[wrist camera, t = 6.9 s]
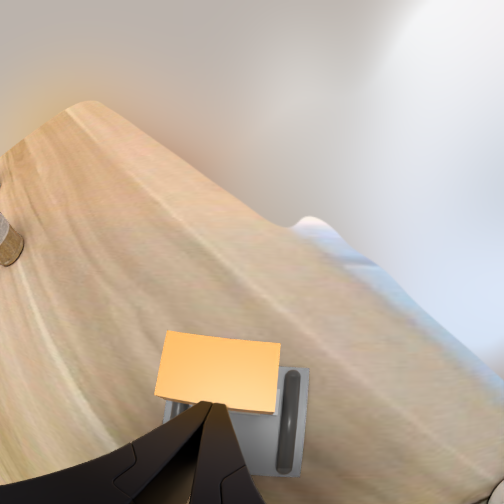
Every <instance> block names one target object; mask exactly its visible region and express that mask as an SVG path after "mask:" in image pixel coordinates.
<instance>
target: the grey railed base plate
mask: <svg viewBox="0 0 504 504" xmlns="http://www.w3.org/2000/svg"><path fill="white" fill-rule="evenodd" d="M308 384H309V368H296V367H280V366H279V370H278V381H277V393H276V404H275V412H274V413H273V414H272V415H270V414H260V415H249V414H240V413H231V412H228V413H229V416H230V419H231V422H232V425H233V428H234V431H235V434H236V437H237V440H238V442H239V445H240V448H241V451H242V454H243V457H244V459H245V462H246V465H247V467H248V469H249V472H250V475H261V476H277V477H300V473H301V464H302V455H303V445H304V435H305V424H306V412H307V398H308ZM192 406H193V405H190V404H184V403H179V402H174V401H169V400H166V405H165V412H164V418H163V424H164V423H166V422H168V421H169V420H171V419H172V418H174V417H176V416H177V415H179V414H181V413H182V412H184V411H185V410H187V409H189V408H190V407H192Z"/></svg>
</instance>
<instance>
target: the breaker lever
mask: <svg viewBox="0 0 504 504" xmlns="http://www.w3.org/2000/svg"><path fill="white" fill-rule="evenodd" d="M280 344H281V343H270V342H258V341H247V340H237V339H228V338H219V337H211V336H203V335H195V334H188V333H181V332H174V331H168V330H167V333H166V338H165V343H164V347H163V352H162V357H161V362H160V367H159V372H158V377H157V382H156V388H155V393H154V395H156V396H158V397H161V398H163V399H165V400H169V401H174V402H179V403H184V404H190V405H195V404H197V403H198V402H200V401H208V402H212V403H222V404H225V405H226V407H227V410H228V412H231V413H240V414H249V415H260V414H270V415H272V414H273V413H274V412H275V404H276V393H277V381H278V370H279V357H280Z"/></svg>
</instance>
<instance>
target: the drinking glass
mask: <svg viewBox="0 0 504 504" xmlns="http://www.w3.org/2000/svg"><path fill="white" fill-rule="evenodd" d="M488 504H504V480H503V481H502V482H501V483H500V484H499V485H498V486H497V487H496V489H495V490H494V492H493V493H492V495H491V497H490V499H489V502H488Z"/></svg>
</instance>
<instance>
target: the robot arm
mask: <svg viewBox="0 0 504 504" xmlns="http://www.w3.org/2000/svg"><path fill="white" fill-rule="evenodd" d="M190 494H191V496H190ZM189 496H190V502H189V504H266V503H265V501H264V500H263V498H262V496H261V495H260V493H259V491H258V489H257V488H256V486H255V484H254V481H253V479H252V477H251V475H250V472H249V469H248V467H247V465H246V462H245V459H244V457H243V454H242V451H241V448H240V445H239V442H238V440H237V437H236V434H235V431H234V428H233V425H232V422H231V419H230V416H229V413H228V410H227V407H226V405H225V404H222V403H212V402H208V401H200V402H198V403H197V404H195V405H193V406H192V407H190V408H189V409H187V410H185V411H184V412H182V413H181V414H179V415H177V416H176V417H174V418H172V419H171V420H169V421H168V422H166V423H164V424H163V425H161V426H159V427H157V428H156V429H154V430H152V431H151V432H149V433H147V434H145V435H144V436H142V437H140V438H138V439H136V440H135V441H133V442H132V443H128V444H127V445H125V446H123V447H121V448H119V449H117V450H115V451H113V452H111V453H109V454H106V455H104V456H101V457H99V458H96V459H93V460H91V461H88V462H85V463H82V464H79V465H76V466H73V467H70V468H67V469H64V470H60V471H57V472H54V473H50V474H47V475H43V476H40V477H36V478H32V479H28V480H24V481H20V482H15V483H11V484H6V485H0V504H186V503H187V501H188V498H189Z"/></svg>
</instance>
